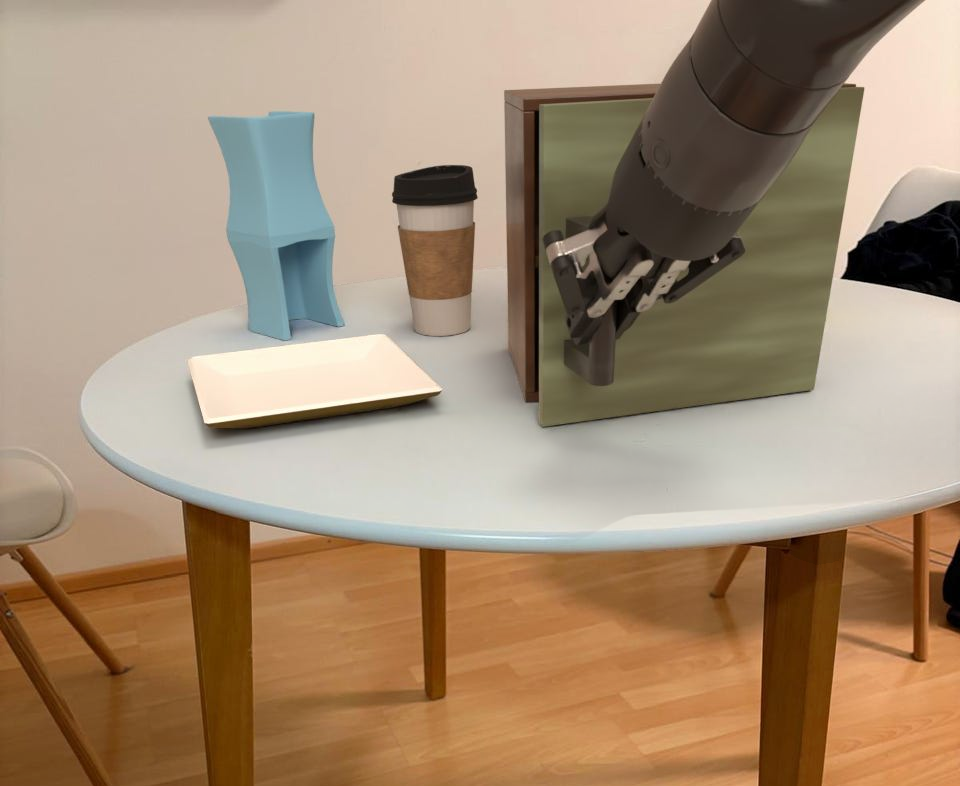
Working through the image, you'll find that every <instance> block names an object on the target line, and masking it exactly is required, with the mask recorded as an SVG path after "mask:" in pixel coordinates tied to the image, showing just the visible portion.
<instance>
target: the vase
mask: <svg viewBox="0 0 960 786" xmlns="http://www.w3.org/2000/svg"><path fill="white" fill-rule="evenodd" d="M207 120H208V122H209V125H210V127H211V129H212V131H213V134H214V136H215V138H216V141H217V143H218V146H219V148H220V151H221V154H222V157H223V160H224V163H225V167H226V172H227V177H228V183H229V207H228V214H227V221H226V229H225V232H226V239H227V242H228V244H229V246H230V248H231V251H232V253H233V256H234V258H235V260H236V264H237V265H238V269H239V272H240V274H241V277H242V281H243V285H244V289H245V295H246V303H247V312H248V313H247V315H248V318H247V319H248V320H247V327H248V328H247V329H248V330H249V331H250V332H254V333H257V334H259V335H264V336H267V337H271V338H274V339H277V340H281V341H284V342H285V341H289V340H292V336H291V329H290V321H294V320H310V321H314V322H319V323H322V324H326V325H329V326H334V327H338V328H339V327H343V326H346V324H345V321H344V318H343V316H342V313H341V310H340V307H339V304H338V300H337V297H336V292H335V287H334V278H333V277H334V276H333V261H334V260H333V259H334V251H335V250H334V249H335V241H336V231H335V225H334V222H333V220H332V218H331V216H330V214H329V212H328V209H327V208H326V205H325V203H324V201H323V198H322V194H321V191H320V189H319V186H318V182H317V181H318V180H317V177H316V173H315V172H316V171H315V164H314V127H315V112H314V111H289V110H288V111H287V110H284V111H283V110H273V111H271V110H270V111H268V115H266V116H265V115H263V116H221V115H219V116H218V115H211V116H207Z"/></svg>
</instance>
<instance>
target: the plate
mask: <svg viewBox="0 0 960 786" xmlns="http://www.w3.org/2000/svg"><path fill="white" fill-rule="evenodd" d="M187 364H188V368H189V372H190V375H191V379H192V382H193V386H194V390H195V393H196V398H197V401H198V404H199V408H200V412H201V415H202V418H203V419H202V420H203V423H204V424H205V425H206V426H207V428H212V429H214V428H215V429H245V430H246V429H252V428H260V427H266V426H274V425H282V424H287V423H294V422H301V421H309V420H315V419H322V418H330V417H337V416H342V415H349V414H357V413H365V412H371V411H378V410H384V409H391V408H399V407H402V406H406V405H410V404H413V403H416V402H417V403H418V402H421V401H423V400H427V399H430V398H434V397H437V396H439V395H441V393H442V392H443V388H442V387H441V386H440V385H439V384H438V383H437V382H436V381H435V380H434V379H433V378H431V377H430V375H428V374H427V373H426V372H425V370H423V369H422V368H421V367H420V366H419V365H418V364H417V363H416V362H415V361H414V360H413V359H412V358H411V357H409V355H408V354H406V352H405V351H403V349H401V347H399V345H397V344H396V343H395V342H394V340H392V339H391V337H389V336H388V335H386V334H385V333H378V334H370V335H368V334H367V335H362V336H361V335H360V336H354V337H353V336H352V337H344V338H337V339H329V340H328V339H327V340H320V341H313V342H311V341H310V342H303V343H295V344H286V345H279V346H272V347H271V346H270V347H262V348H253V349H246V350H239V351H230V352H223V353H221V352H220V353H213V354H205V355H196V356H192V357H190V358H189V359H187Z"/></svg>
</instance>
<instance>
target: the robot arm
mask: <svg viewBox="0 0 960 786" xmlns="http://www.w3.org/2000/svg"><path fill="white" fill-rule="evenodd" d="M925 1H926V0H710V2H709V4H708V5H707V7H706V9H705V11H704V13H703V15H702V17H701V19H700V21H699V22H698V24H697V26H696V28H695V30H694V32H693V33H692V35H691V37H690V39H689V40H687V42H686V44H685V45H684V46H683V48H682V49H681V51H680V52H678V53H679V54H677V56H676V57H675V59H674V61H673V62H672V63H671V65H670V67H669V69H667V72H666V73H665V75H664V77H663V78H662V80H661V83H659V84H660V86H659V88H658V90H657V92H656V94H655V96H654V98H653V99H652V101H651V103H650V105H649V107H648V109H647V111H646V113H645V115H644V116H643V118H642V120H641V122H640V124H639V126H638V128H637V130H636V132H635V134H634V135H633V137H632V139H631V141H630V143H629V145H628V147H627V149H626V151H625V152H624V154H623V156H622V158H621V160H620V162H619V164H618V166H617V168H616V171H615V174H614V177H613V182H612V187H611V191H610V196H609V200H608V203H607V204H606V205H605V206H604V207H603V208H602V209H601V210H600V211H599V212H598V213H597V214H595V215H594V216H593V218H592V219H591V220H590V222H589V225H588V230H587V231H584V232H582V233H579V234H577V235H575V236H572V237H570V238H567V239H565V240H564V237H563V234H562V232H561V231H560V230H553V231H550V232H548V233H547V234H545V235H544V237H543V239H542V240H543V244H544V247H545V250H546V253H547V256H548V259H549V263H550V266H551V269H552V272H553V275H554V278H555V281H556V284H557V287H558V290H559V292H560V295H561V298H562V301H563V304H564V307H565V309H566V312H567V313H566V315H565V322H566V325H567V328H568V331H569V334H570V338H573V339H574V342H575V344H576V345H579V344H586V343H587V342H588V341H589V339H590V338H591V336H592V335H593V333H594V332H595V330H596V329H597V327H598V326H599V324H600V323H601V321H602V320H603V318H604V316H605V315H604V313H605V312H606V311H607V310H608V308H609V307H610V306H611V304H612V303H613V302H614V300H617V321H616V339H620V337H621V336H622V334H623V333H624V332H625V331H626V330H627V329H629V328H630V327H631V326H632V324H633V323H634V321H635V320H636V319H637V317H638V316H639V314H640V313H641V312H643V311H646V310H648V309H650V308H651V307H652V306H653V305H654V303H655V301H656V300H658V299H661V298H663V300H664V302H665V303H673V302H675V301H677V300H678V299H680V298H681V297H683V296H684V295H686V294H687V293H689V292H690V291H692V290H693V289H694V288H696V287H697V286H699V285H700V284H702V283H703V282H705V281H706V280H708V279H709V278H710V277H712V276H713V275H715V274H716V273H718V272H719V271H721V270H722V269H724V268H725V267H726V266H728V265H729V264H731V263H732V262H734V261H735V260H737V259H738V258H740V257H741V256H742V255H743V254H744V253H745V248H744V245H743V242H742V240H741V237H740V234H739V231H738V229H739V228H740V227H741V225H742V224H743V223H744V221H745V220H746V219H747V218H748V216H749V215H750V214H751V212H752V211H753V210H754V209H755V207H756V206H757V205H758V203H759V202H760V201H761V200H762V198H763V197H764V196H765V194H766V193H767V192H768V190H769V189H770V188H771V187H772V185H773V184H774V183H775V181H776V180H777V179H778V178H779V176H780V175H781V174H782V172H783V171H784V170H785V169H786V167H787V166H788V165H789V163H790V162H791V160H792V159H793V158H794V156H795V154H796V153H797V151H798V150H799V148H800V146H801V145H802V143H803V141H804V139H805V137H806V136H807V134H808V132H809V130H810V129H811V127H812V125H813V124H814V122H815V121H816V119H817V118H818V117H819V116H820V114H821V113H822V112H823V110H824V109H825V108H826V106H827V105H828V104H829V102H830V101H831V100H832V99H833V97H834V96H835V95H836V93H837V92H838V91H839V89H840V88H841V87H842V85H843V84H844V83H846V82H847V80H848V79H849V78H850V76H851V75H852V74H853V73H854V71H856V69H857V67H858V66H859V65H860V63H861V62H862V61H863V60H864V58H865V57H866V56H867V55H868V54H869V53H870V52H871V50H872V49H873V48H874V47H875V46H876V45H877V44H878V43H879V42H880V41H881V40H882V39H883V38H884V37H885V36H886V35H888V33H890V32H891V31H892V30H893V29H894V28H895V27H896V26H897V25H899V24H900V23H901V22H902V21H903V20H904V19H905V18H907V17H908V16H909V15H910V14H911V13H912V12H913V11H915V10H916V9H917V8H918V7H920V6H921V5H922V4H923V3H924V2H925ZM589 255H590V257H589V259H590V262H589V265H588V267H587V268H586V270H585V271H584V273H583V271H582V268H581V267H583V266H584V265H585V263H586V258H587V257H588V256H589ZM687 267H688V268H689V272H688V274H687V275H686V276H685V277H684V278H682V279H681V280H679V281H677V277H678V275H679V274H680V272H681V271H684V270H686V268H687Z"/></svg>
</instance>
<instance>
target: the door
mask: <svg viewBox="0 0 960 786" xmlns="http://www.w3.org/2000/svg"><path fill="white" fill-rule="evenodd" d="M865 89H866V88H865V87H864V86H856V87H843V88H840V89H839V91H838V92H837V93H836V95H835V96H834V97H833V99H832V100H831V101H830V102H829V104H828V105H827V106H826V108H825V109H824V110H823V112H822V113H821V114H820V116H819V117H818V118H817V119H816V121H815V122H814V124H813V125H812V127H811V129H810V130H809V132H808V134H807V136H806V137H805V139H804V141H803V143H802V145H801V146H800V148H799V150H798V151H797V153H796V154H795V156H794V158H793V159H792V160H791V162H790V163H789V165H788V166H787V167H786V169H785V170H784V171H783V172H782V174H781V175H780V176H779V178H778V179H777V180H776V181H775V183H774V184H773V185H772V187H771V188H770V189H769V190H768V192H767V193H766V194H765V196H764V197H763V198H762V200H761V201H760V202H759V203H758V205H757V206H756V207H755V209H754V210H753V211H752V212H751V214H750V215H749V216H748V218H747V219H746V220H745V221H744V223H743V224H742V225H741V227H740V228H739V229H738V231H739V234H740V237H741V240H742V242H743V245H744V248H745V253H744V254H743V255H742V256H741V257H740V258H738V259H737V260H735V261H734V262H732V263H731V264H729V265H728V266H726V267H725V268H724V269H722V270H721V271H719V272H718V273H716V274H715V275H713V276H712V277H710V278H709V279H708V280H706V281H705V282H703V283H702V284H700V285H699V286H697V287H696V288H694V289H693V290H692V291H690V292H689V293H687V294H686V295H684V296H683V297H681V298H680V299H678V300H677V301H675V302H673V303H665V302H664V300H663V298H661V299H658V300H656V301H655V303H654V305H653V306H652V307H651V308H650V309H648V310H646V311H643V312H641V313H640V314H639V316H638V317H637V319H636V320H635V321H634V323H633V324H632V326H631V327H630V328H629V329H627V330H626V331H625V332H624V333H623V334H622V336H621V337H620V339H616V321H617V300H614V302H613V303H612V304H611V306H610V307H609V308H608V310H607V311H606V312H605V313H604V315H605V316H604V318H603V320H602V321H601V323H600V324H599V326H598V327H597V329H596V330H595V332H594V333H593V335H592V336H591V338H590V339H589V341H588V342H587V343H586V344H579V345H576V344H575V342H574V339H573V338H570V334H569V331H568V328H567V325H566V322H565V315H566V313H567V312H566V309H565V307H564V304H563V301H562V298H561V295H560V292H559V290H558V287H557V284H556V281H555V278H554V275H553V272H552V269H551V266H550V263H549V259H548V256H547V253H546V250H545V247H544V244H543V240H542V239H543V237H544V235H545V234H547V233H548V232H550V231H553V230H560V231H561V232H562V234H563V237H564V240H565V239H567V238H570V237H572V236H575V235H577V234H579V233H582V232H584V231H587V230H588V225H589V222H590V220H591V219H592V218H593V216H594V215H595V214H597V213H598V212H599V211H600V210H601V209H602V208H603V207H604V206H605V205H606V204H607V203H608V200H609V196H610V191H611V187H612V182H613V177H614V174H615V171H616V168H617V166H618V164H619V162H620V160H621V158H622V156H623V154H624V152H625V151H626V149H627V147H628V145H629V143H630V141H631V139H632V137H633V135H634V134H635V132H636V130H637V128H638V126H639V124H640V122H641V120H642V118H643V116H644V115H645V113H646V111H647V109H648V107H649V105H650V103H651V101H652V99H653V98H645V99H627V100H609V101H591V102H573V103H556V104H540V105H539V402H538V423H539V424H540V425H541V426H542V427H551V426H558V425H566V424H573V423H581V422H588V421H595V420H602V419H610V418H616V417H618V418H619V417H624V416H625V417H626V416H631V415H639V414H645V413H655V412H663V411H668V410H669V411H670V410H676V409H683V408H691V407H698V406H705V405H712V404H720V403H727V402H734V401H743V400H748V399H749V400H750V399H757V398H763V397H771V396H778V395H779V396H780V395H787V394H792V393H800V392H807V391H814V390H815V386H816V380H817V374H818V368H819V362H820V356H821V350H822V345H823V338H824V334H825V333H824V332H825V326H826V321H827V315H828V307H829V303H830V296H831V290H832V285H833V279H834V273H835V266H836V261H837V255H838V248H839V243H840V236H841V231H842V225H843V220H844V219H843V218H844V213H845V207H846V201H847V196H848V189H849V183H850V178H851V171H852V165H853V159H854V154H855V148H856V141H857V136H858V131H859V123H860V118H861V113H862V107H863V99H864V94H865ZM589 257H590V255H589V256H588V257H587V258H586V263H585V265H584V266H583V267H581V268H582V271H583V273H584V271H585V270H586V268H587V267H588V265H589V262H590V259H589ZM688 272H689V268H688V267H687V268H686V270H684V271H681V272H680V274H679V275H678V277H677V281H679V280H681V279H682V278H684V277H685V276H686V275H687V274H688Z"/></svg>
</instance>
